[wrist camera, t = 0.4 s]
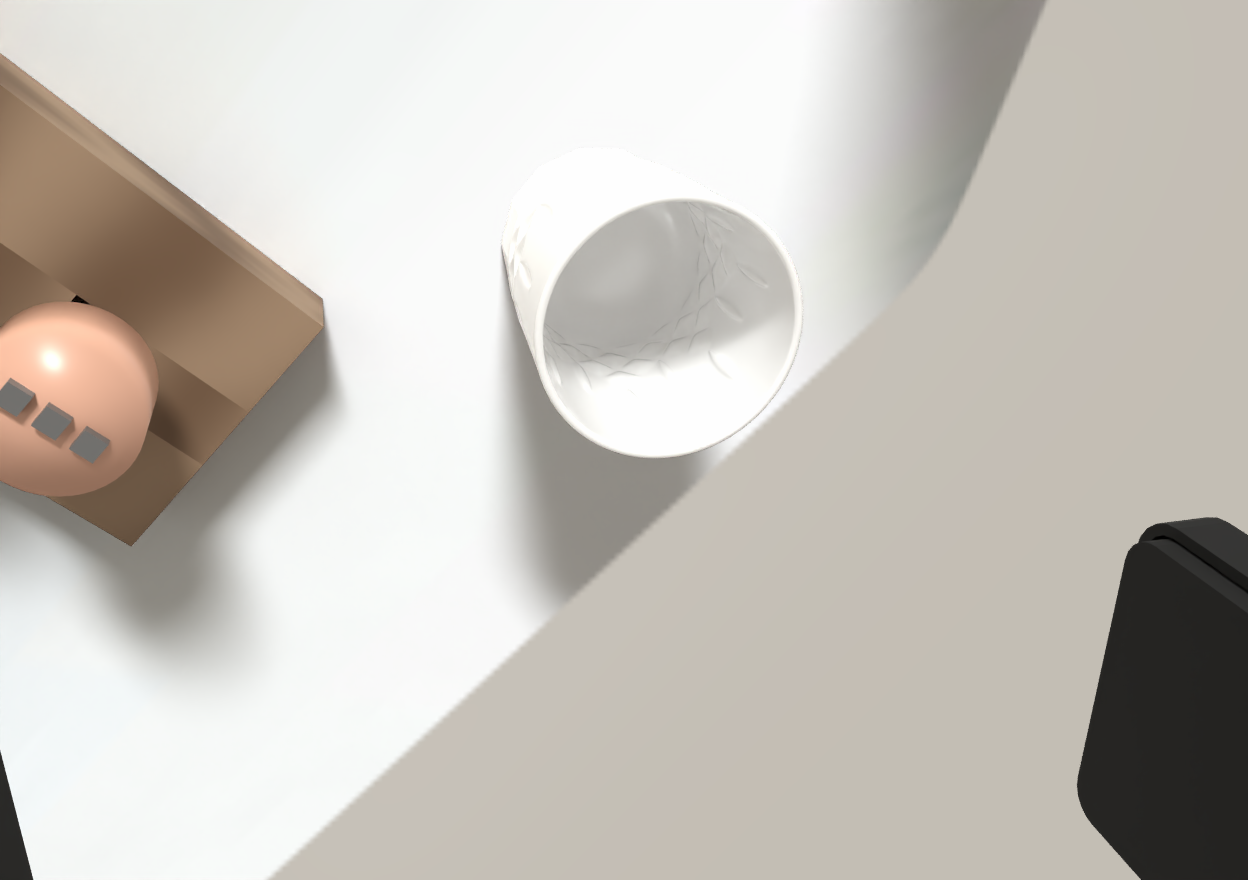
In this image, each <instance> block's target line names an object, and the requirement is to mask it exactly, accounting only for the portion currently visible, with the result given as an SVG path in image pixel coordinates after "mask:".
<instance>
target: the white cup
mask: <svg viewBox="0 0 1248 880" xmlns="http://www.w3.org/2000/svg"><path fill="white" fill-rule="evenodd" d="M501 246H502V250H503V255H504V260H505V265H506V270H507V274H508V279H509V288H510V292H511V295H512V299H513V302H514V305H515V309H516V313H517V316H518V319H519V322H520V325H521V328H522V330H523V333H524V336H525V338H526V341H527V343H528V346H529V349H530V351H531V354H532V357H533V359H534V362H535V365H536V368H537V370H538V373H539V376H540V379H541V382H542V384H543V387H544V389H545V391H546V393H547V395H548V397H549V399H550V401H551V402H552V404H553V405H554V407H555V408H556V410H557V411H558V412H559V414H560V415H561V416H562V417H563V419H564V420H565V421H566V422H567V423H568V424H569V425H570V426H571V427H572V428H573V429H575V430H576V431H577V432H578V433H579V434H581V435H582V436H584V437H585V438H586V439H588V440H590V441H591V442H593V443H595V444H597V445H599V446H601V447H603V448H605V449H608V450H610V451H613V452H616V453H619V454H623V455H627V456H632V457H639V458H671V457H678V456H683V455H688V454H692V453H695V452H698V451H701V450H704V449H707V448H709V447H712V446H714V445H716V444H718V443H720V442H722V441H724V440H726V439H727V438H729V437H731V436H732V435H734V434H735V433H737V432H738V431H740V430H741V429H743V428H744V427H745V426H746V425H748V424H749V423H750V422H751V421H752V420H753V419H755V418H756V417H757V416H758V415H759V414H760V413H761V412H762V411H763V410H764V409H765V407H766V406H767V405H768V404H769V403H770V402H771V400H772V399H773V398H774V396H775V395H776V394H777V392H778V391H779V389H780V388H781V386H782V384H783V383H784V381H785V379H786V377H787V375H788V373H789V371H790V369H791V367H792V364H793V362H794V359H795V357H796V354H797V350H798V347H799V343H800V338H801V333H802V325H803V299H802V292H801V286H800V282H799V278H798V275H797V271H796V269H795V266H794V264H793V261H792V259H791V257H790V255H789V253H788V251H787V250H786V248H785V246H784V245H783V243H782V242H781V241H780V239H779V238H778V237H777V235H776V234H775V233H774V232H773V231H772V230H771V229H770V228H769V227H768V226H767V225H766V224H765V223H764V222H763V221H762V220H761V219H759V218H758V217H757V216H755V215H754V214H753V213H751V212H750V211H748V210H746V209H745V208H743V207H741V206H739V205H737V204H735V203H733V202H732V201H730V200H728V199H726V198H724V197H723V196H721V195H719V194H717V193H715V192H713V191H711V190H709V189H707V188H706V187H704V186H702V185H701V184H699V183H698V182H696V181H694V180H692V179H690V178H688V177H686V176H683V175H681V174H679V173H677V172H675V171H673V170H670V169H668V168H666V167H664V166H662V165H660V164H657V163H654V162H651V161H647V160H643V159H640V158H638V157H636V156H634V155H632V154H631V153H629V152H627V151H625V150H623V149H594V148H579V149H577V150H574V151H572V152H570V153H568V154H566V155H564V156H562V157H559V158H557V159H555V160H553V161H551V162H549V163H546V164H544V165H542V166H540V167H539V168H538V169H537V171H536V172H535V173H534V174H533V175H532V177H531V178H530V179H529V180H528V181H527V183H526V184H525V185H524V186H523V187H522V189H521V190H520V191H519V192H518V193H517V195H516V196H515V197H514V198H513V200H512V201H511V205H510V209H509V213H508V217H507V221H506V225H505V229H504V232H503V236H502V240H501Z"/></svg>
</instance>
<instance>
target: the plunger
mask: <svg viewBox="0 0 1248 880" xmlns="http://www.w3.org/2000/svg"><path fill="white" fill-rule="evenodd" d="M158 384H159V379H158V370H157V367H156V363H155V360H154V357H153V355H152V353H151V351H150V349H149V347H148V346H147V344H146V342H145V341H144V340H143V339H142V337H141V336H140V335H139V334H138V333H137V332H136V331H135V330H134V329H133V328H132V327H131V326H130V325H129V324H127V323H126V322H125V321H124V320H122V319H121V318H119V317H117V316H116V315H114V314H112V313H110V312H108V311H106V310H103V309H101V308H98V307H95V306H92V305H88V304H83V303H77V302H51V303H44V304H40V305H36V306H33V307H30V308H28V309H26V310H23V311H21V312H20V313H18V314H16V315H14V316H13V317H12V318H10V319H9V320H8V321H6V322H5V323H4V324H3V325H2V326H1V327H0V481H2V482H4V483H6V484H8V485H10V486H12V487H14V488H17V489H20V490H22V491H25V492H29V493H33V494H38V495H44V496H58V497H61V496H74V495H80V494H85V493H88V492H92V491H95V490H97V489H100V488H102V487H104V486H106V485H108V484H110V483H111V482H113V481H115V480H116V479H117V478H119V477H120V476H121V475H123V474H124V473H125V472H126V471H127V470H128V469H129V468H130V466H131V465H132V464H133V462H134V461H135V460H136V458H137V456H138V454H139V453H140V451H141V448H142V446H143V443H144V440H145V436H146V433H147V430H148V426H149V423H150V419H151V416H152V413H153V409H154V406H155V402H156V399H157V394H158Z"/></svg>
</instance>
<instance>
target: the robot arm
mask: <svg viewBox="0 0 1248 880" xmlns="http://www.w3.org/2000/svg"><path fill="white" fill-rule="evenodd" d="M1077 788H1078V797H1079V800H1080V804H1081V807H1082V809H1083V811H1084V813H1085V815H1086V817H1087V818H1088V820H1089V821H1090V822H1091V824H1092V825H1093V826H1094V827H1095V828H1096V829H1097V831H1098V832H1099V833H1100V834H1101V835H1102V836H1103V837H1104V838H1105V839H1106V841H1107V842H1108V843H1109V844H1110V845H1111V846H1112V847H1113V849H1114V850H1115V851H1116V852H1117V853H1118V854H1119V855H1120V856H1121V858H1122V859H1123V860H1124V861H1125V862H1126V863H1127V864H1128V865H1129V867H1130V868H1131V869H1132V870H1133V871H1134V872H1135V873H1136V874H1137V876H1138V877H1139V878H1140V879H1141V880H1248V535H1247V534H1245V533H1244V532H1242V531H1241V530H1239V529H1238V528H1236V527H1234V526H1233V525H1231V524H1230V523H1228V522H1226V521H1223V520H1221V519H1219V518H1199V519H1191V520H1182V521H1175V522H1167V523H1159V524H1155V525H1153V526H1151V527H1149V528H1147V529H1146V530H1145V532H1144V533H1143V534H1142V535H1141V537H1140V539H1139V542H1138V543H1137V544H1135V545H1133V546H1132V548H1131V549H1130V550H1129V551H1128V554H1127V556H1126V559H1125V563H1124V568H1123V572H1122V577H1121V581H1120V586H1119V590H1118V595H1117V600H1116V604H1115V609H1114V613H1113V618H1112V623H1111V627H1110V632H1109V636H1108V641H1107V646H1106V650H1105V655H1104V659H1103V664H1102V669H1101V674H1100V678H1099V683H1098V687H1097V692H1096V696H1095V701H1094V705H1093V710H1092V715H1091V719H1090V724H1089V729H1088V733H1087V738H1086V742H1085V747H1084V752H1083V756H1082V761H1081V765H1080V770H1079V774H1078V782H1077ZM0 880H33V877H32V873H31V869H30V865H29V861H28V857H27V853H26V849H25V846H24V842H23V838H22V834H21V830H20V826H19V822H18V818H17V814H16V810H15V807H14V803H13V799H12V795H11V791H10V787H9V783H8V779H7V775H6V772H5V768H4V764H3V760H2V756H1V752H0Z"/></svg>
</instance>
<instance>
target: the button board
mask: <svg viewBox="0 0 1248 880" xmlns="http://www.w3.org/2000/svg"><path fill="white" fill-rule="evenodd" d="M76 295H78V296H79V297H80V298H82V299H83V300H85V301H86V302H88V303H89V304H91V305H92V306H95V307H98V308H101V309H103V310H106V311H108V312H110V313H112V314H114V315H116V316H117V317H119V318H121V319H122V320H124V321H125V322H126V323H127V324H129V325H130V326H131V327H132V328H133V329H134V330H135V331H136V332H137V333H138V334H139V335H140V336H141V337H142V339H143V340H144V341H145V342H146V344H147V346H148V347H149V349H150V351H151V353H152V355H153V357H154V360H155V363H156V367H157V370H158V379H159V384H158V394H157V399H156V402H155V406H154V409H153V413H152V416H151V419H150V423H149V426H148V430H147V433H146V436H145V440H144V443H143V446H142V448H141V451H140V453H139V454H138V456H137V458H136V460H135V461H134V462H133V464H132V465H131V466H130V468H129V469H128V470H127V471H126V472H125V473H124V474H123V475H121V476H120V477H119V478H117V479H116V480H115V481H113V482H111V483H110V484H108V485H106V486H104V487H102V488H100V489H97V490H95V491H92V492H88V493H85V494H80V495H74V496H61V497H58V496H46V497H48V498H50V499H51V500H53V501H55V502H56V503H58V504H60V505H62V506H63V507H65V508H67V509H68V510H70V511H72V512H73V513H75V514H77V515H79V516H80V517H82V518H84V519H85V520H87V521H89V522H90V523H92V524H94V525H96V526H97V527H99V528H101V529H102V530H104V531H106V532H107V533H109V534H111V535H113V536H114V537H116V538H118V539H119V540H121V541H123V542H124V543H126V544H128V545H130V546H132V545H133V544H134V543H135V542H136V541H137V540H138V538H139V537H140V536H141V535H142V534H143V533H144V532H145V530H146V529H147V528H148V527H149V526H150V525H151V524H152V522H153V521H154V520H155V519H156V518H157V517H158V516H159V514H160V513H161V512H162V511H163V510H164V509H165V508H166V506H167V505H168V504H169V503H170V502H171V501H172V500H173V498H174V497H175V496H176V495H177V494H178V493H179V492H180V490H181V489H182V488H183V487H184V486H185V485H186V484H187V483H188V481H189V480H190V479H191V478H192V477H193V476H194V475H195V473H196V472H197V471H198V470H199V469H200V468H201V467H202V465H203V464H204V463H205V462H206V461H207V460H208V459H209V457H210V456H211V455H212V454H213V453H214V452H215V451H216V449H217V448H218V447H219V446H220V445H221V444H222V443H223V441H224V440H225V439H226V438H227V437H228V436H229V435H230V433H231V432H232V431H233V430H234V429H235V428H236V427H237V425H238V424H239V423H240V422H241V421H242V420H243V419H244V417H245V416H246V415H247V414H248V413H249V412H250V411H251V409H252V408H253V407H254V406H255V405H256V404H257V403H258V401H259V400H260V399H261V398H262V397H263V396H264V395H265V394H266V392H267V391H268V390H269V389H270V388H271V387H272V386H273V384H274V383H275V382H276V381H277V380H278V379H279V378H280V376H281V375H282V374H283V373H284V372H285V371H286V370H287V368H288V367H289V366H290V365H291V364H292V363H293V362H294V360H295V359H296V358H297V357H298V356H299V355H300V354H301V352H302V351H303V350H304V349H305V348H306V347H307V346H308V344H309V343H310V342H311V341H312V340H313V339H314V338H315V336H316V335H317V334H318V333H319V332H320V331H321V330H322V328H323V327H324V323H323V302H322V298H321V297H319V296H318V295H317V294H315V293H314V292H313V291H311V290H310V289H309V288H307V287H306V286H305V285H304V284H302V283H301V282H300V281H298V280H297V279H296V278H294V277H293V276H292V275H290V274H289V273H288V272H286V271H285V270H284V269H283V268H281V267H280V266H279V265H277V264H276V263H275V262H273V261H272V260H271V259H269V258H268V257H267V256H265V255H264V254H263V253H262V252H260V251H259V250H258V249H256V248H255V247H254V246H252V245H251V244H250V243H248V242H247V241H246V240H245V239H243V238H242V237H241V236H239V235H238V234H237V233H235V232H234V231H233V230H231V229H230V228H229V227H227V226H226V225H225V224H224V223H222V222H221V221H220V220H218V219H217V218H216V217H214V216H213V215H212V214H210V213H209V212H208V211H206V210H205V209H204V208H203V207H201V206H200V205H199V204H197V203H196V202H195V201H193V200H192V199H191V198H189V197H188V196H187V195H186V194H184V193H183V192H182V191H180V190H179V189H178V188H176V187H175V186H174V185H172V184H171V183H170V182H168V181H167V180H166V179H165V178H163V177H162V176H161V175H159V174H158V173H157V172H155V171H154V170H153V169H151V168H150V167H149V166H147V165H146V164H145V163H144V162H142V161H141V160H140V159H138V158H137V157H136V156H134V155H133V154H132V153H130V152H129V151H128V150H126V149H125V148H124V147H123V146H121V145H120V144H119V143H117V142H116V141H115V140H113V139H112V138H111V137H109V136H108V135H107V134H106V133H104V132H103V131H102V130H100V129H99V128H98V127H96V126H95V125H94V124H92V123H91V122H90V121H88V120H87V119H86V118H85V117H83V116H82V115H81V114H79V113H78V112H77V111H75V110H74V109H73V108H71V107H70V106H69V105H67V104H66V103H65V102H64V101H62V100H61V99H60V98H58V97H57V96H56V95H54V94H53V93H52V92H50V91H49V90H48V89H47V88H45V87H44V86H43V85H41V84H40V83H39V82H37V81H36V80H35V79H33V78H32V77H31V76H29V75H28V74H27V73H26V72H24V71H23V70H22V69H20V68H19V67H18V66H16V65H15V64H14V63H12V62H11V61H10V60H8V59H7V58H6V57H5V56H3V55H2V54H1V53H0V327H1V326H2V325H3V324H4V323H5V322H6V321H8V320H9V319H10V318H12V317H13V316H14V315H16V314H18V313H20V312H21V311H23V310H26V309H28V308H30V307H33V306H36V305H40V304H44V303H51V302H71V301H72V300H73V298H74V297H75V296H76Z"/></svg>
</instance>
